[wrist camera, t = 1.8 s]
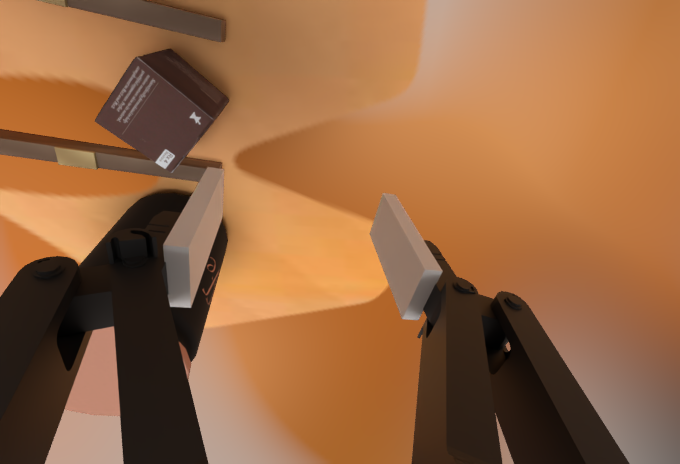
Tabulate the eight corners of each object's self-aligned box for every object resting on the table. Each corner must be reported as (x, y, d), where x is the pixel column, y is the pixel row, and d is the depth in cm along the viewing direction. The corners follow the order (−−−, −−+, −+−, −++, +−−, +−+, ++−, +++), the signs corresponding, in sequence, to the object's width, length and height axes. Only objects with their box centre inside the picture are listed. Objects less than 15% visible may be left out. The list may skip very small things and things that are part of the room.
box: (171, 46, 27) (136, 52, 21) (231, 99, 30) (216, 119, 23) (133, 100, 28) (90, 121, 22) (193, 145, 31) (170, 175, 25)
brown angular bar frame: (-184, -131, 19) (-275, -161, 16) (226, -17, 25) (217, -23, 22) (-65, 135, 28) (-110, 149, 25) (221, 176, 33) (214, 192, 30)
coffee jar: (213, 276, 40) (169, 424, 25) (120, 250, 37) (3, 405, 22) (242, 210, 36) (208, 342, 21) (138, 171, 32) (6, 300, 17)
